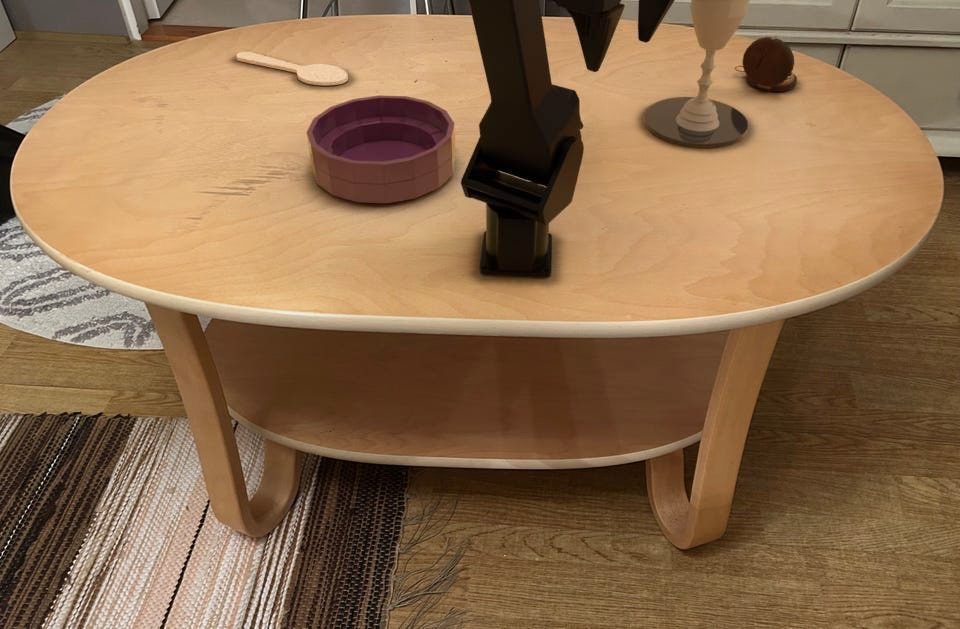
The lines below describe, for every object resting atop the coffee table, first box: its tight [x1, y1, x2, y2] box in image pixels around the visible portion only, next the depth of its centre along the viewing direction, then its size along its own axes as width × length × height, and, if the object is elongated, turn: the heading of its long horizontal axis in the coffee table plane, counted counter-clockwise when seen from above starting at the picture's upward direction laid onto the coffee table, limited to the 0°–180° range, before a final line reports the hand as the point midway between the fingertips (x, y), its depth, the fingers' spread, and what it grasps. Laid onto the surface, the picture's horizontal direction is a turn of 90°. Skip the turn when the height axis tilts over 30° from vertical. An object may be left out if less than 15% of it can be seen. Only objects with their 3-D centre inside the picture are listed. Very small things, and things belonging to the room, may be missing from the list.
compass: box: [734, 35, 798, 92], centre depth 100 cm, size 8×8×7 cm
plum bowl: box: [306, 94, 456, 204], centre depth 85 cm, size 15×15×5 cm
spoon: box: [235, 51, 349, 86], centre depth 106 cm, size 5×18×1 cm, turn 62°
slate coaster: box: [643, 96, 749, 149], centre depth 94 cm, size 12×12×1 cm
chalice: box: [676, 0, 750, 131], centre depth 88 cm, size 7×7×18 cm
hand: (619, 55), depth 77 cm, fingers open, 9 cm apart
